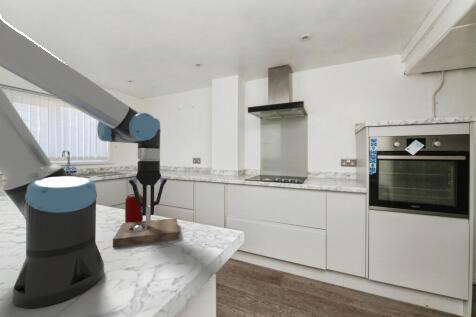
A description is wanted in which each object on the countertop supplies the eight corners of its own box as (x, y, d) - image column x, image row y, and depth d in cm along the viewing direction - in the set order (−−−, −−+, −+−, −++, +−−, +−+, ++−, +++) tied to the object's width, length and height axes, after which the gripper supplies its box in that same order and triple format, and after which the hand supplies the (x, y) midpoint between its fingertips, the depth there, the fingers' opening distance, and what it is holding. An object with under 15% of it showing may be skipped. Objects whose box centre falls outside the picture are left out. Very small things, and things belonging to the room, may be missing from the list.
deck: (176, 224, 85) (176, 218, 85) (178, 238, 70) (178, 231, 70) (122, 229, 78) (122, 222, 78) (112, 246, 63) (112, 239, 63)
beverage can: (146, 222, 86) (146, 194, 86) (130, 226, 81) (131, 197, 81) (137, 219, 90) (137, 193, 90) (121, 223, 84) (122, 195, 84)
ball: (139, 238, 71) (144, 229, 72) (130, 235, 70) (135, 225, 70) (140, 234, 74) (145, 225, 75) (131, 231, 73) (136, 222, 74)
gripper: (167, 160, 79) (166, 219, 79) (130, 159, 75) (130, 222, 75) (167, 160, 72) (167, 225, 72) (127, 160, 68) (126, 229, 68)
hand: (148, 223), depth 74 cm, fingers closed
